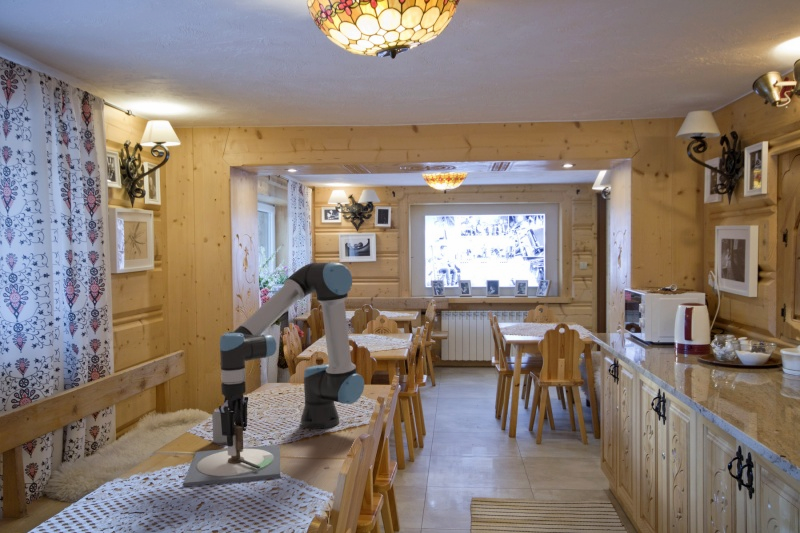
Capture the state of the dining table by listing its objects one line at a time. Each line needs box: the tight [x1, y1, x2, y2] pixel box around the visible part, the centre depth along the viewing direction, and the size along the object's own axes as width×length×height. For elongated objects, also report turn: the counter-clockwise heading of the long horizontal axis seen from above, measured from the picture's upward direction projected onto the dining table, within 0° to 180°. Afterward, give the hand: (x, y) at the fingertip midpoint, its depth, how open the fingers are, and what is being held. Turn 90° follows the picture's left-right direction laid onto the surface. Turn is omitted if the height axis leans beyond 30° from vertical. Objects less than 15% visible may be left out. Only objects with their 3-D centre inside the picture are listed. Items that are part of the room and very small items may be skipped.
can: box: [211, 407, 233, 445], centre depth 220 cm, size 8×8×12 cm
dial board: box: [183, 444, 281, 488], centre depth 195 cm, size 28×28×2 cm
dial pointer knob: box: [228, 425, 260, 469], centre depth 191 cm, size 5×16×11 cm, turn 47°
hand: (235, 453), depth 195 cm, fingers closed on dial pointer knob, 3 cm apart
